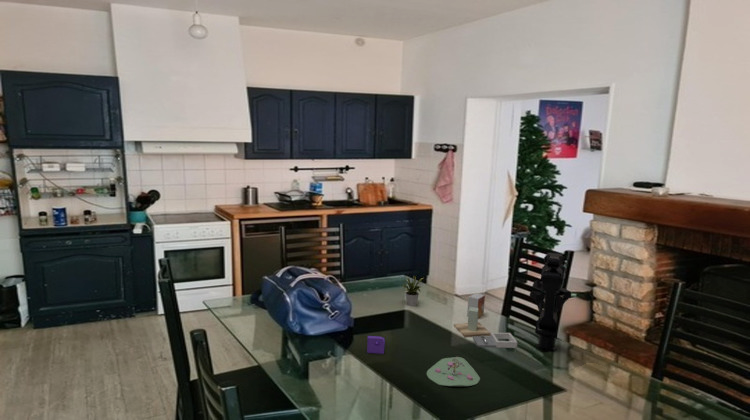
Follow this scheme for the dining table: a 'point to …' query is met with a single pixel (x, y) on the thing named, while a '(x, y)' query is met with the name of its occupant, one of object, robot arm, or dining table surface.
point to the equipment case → (494, 342)
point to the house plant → (412, 292)
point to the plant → (453, 372)
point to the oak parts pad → (467, 333)
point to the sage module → (472, 319)
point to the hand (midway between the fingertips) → (548, 311)
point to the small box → (476, 303)
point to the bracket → (375, 344)
